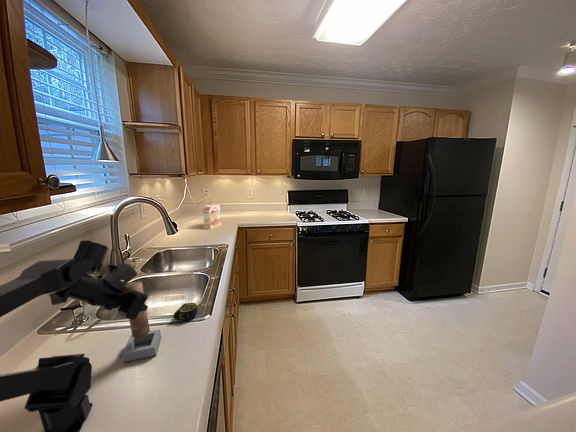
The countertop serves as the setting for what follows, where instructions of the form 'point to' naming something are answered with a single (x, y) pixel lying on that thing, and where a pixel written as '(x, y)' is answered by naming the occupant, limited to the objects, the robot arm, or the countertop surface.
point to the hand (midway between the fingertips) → (141, 306)
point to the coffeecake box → (212, 216)
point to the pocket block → (142, 347)
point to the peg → (141, 321)
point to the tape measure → (186, 311)
